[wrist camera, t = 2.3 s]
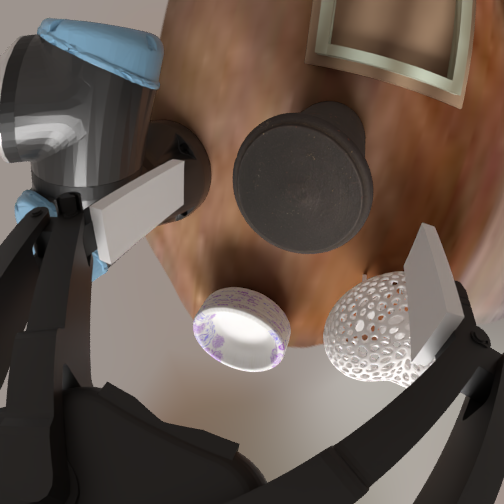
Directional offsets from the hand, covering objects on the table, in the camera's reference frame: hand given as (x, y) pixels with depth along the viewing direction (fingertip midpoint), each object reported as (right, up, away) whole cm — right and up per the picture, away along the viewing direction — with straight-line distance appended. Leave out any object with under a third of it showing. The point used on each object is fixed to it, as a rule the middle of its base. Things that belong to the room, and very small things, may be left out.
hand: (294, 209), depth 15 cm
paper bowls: (-2, -12, +36) cm, 38 cm away
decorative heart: (+18, -6, +24) cm, 31 cm away
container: (+7, +11, +17) cm, 22 cm away
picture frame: (+13, +24, +6) cm, 28 cm away
